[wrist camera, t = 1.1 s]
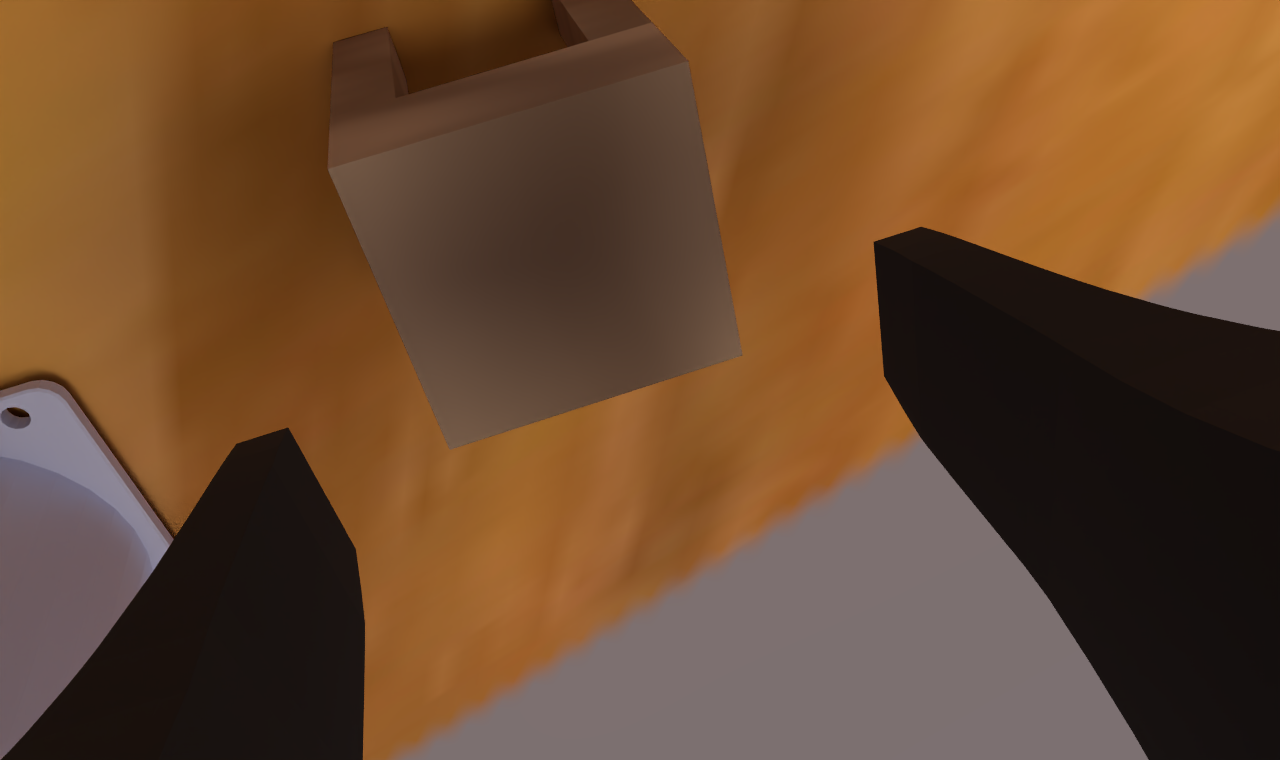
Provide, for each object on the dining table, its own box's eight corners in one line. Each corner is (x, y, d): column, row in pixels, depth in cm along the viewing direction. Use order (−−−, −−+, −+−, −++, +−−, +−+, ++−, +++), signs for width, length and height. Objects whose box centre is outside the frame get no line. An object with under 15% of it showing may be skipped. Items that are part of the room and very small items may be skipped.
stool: (426, 276, 21) (449, 449, 16) (333, 42, 18) (327, 168, 13) (652, 206, 21) (742, 355, 16) (598, -35, 18) (688, 60, 13)
